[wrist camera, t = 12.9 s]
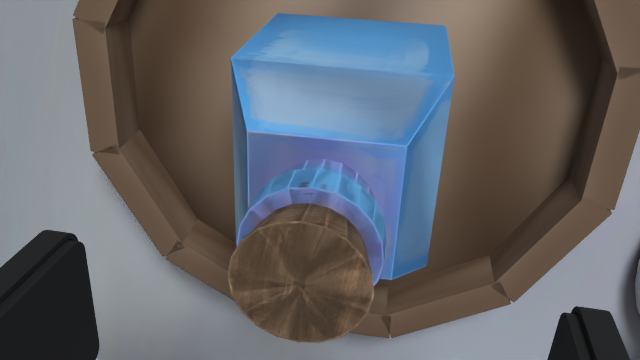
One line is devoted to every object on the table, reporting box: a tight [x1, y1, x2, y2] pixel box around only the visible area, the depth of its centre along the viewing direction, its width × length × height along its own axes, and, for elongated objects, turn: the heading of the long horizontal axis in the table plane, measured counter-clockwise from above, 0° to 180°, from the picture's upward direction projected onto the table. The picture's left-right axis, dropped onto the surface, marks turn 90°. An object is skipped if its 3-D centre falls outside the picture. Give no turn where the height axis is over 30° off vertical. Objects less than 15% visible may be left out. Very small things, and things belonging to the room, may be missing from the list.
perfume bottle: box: [228, 13, 455, 342], centre depth 18 cm, size 6×6×12 cm
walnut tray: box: [73, 0, 640, 338], centre depth 23 cm, size 20×20×3 cm
